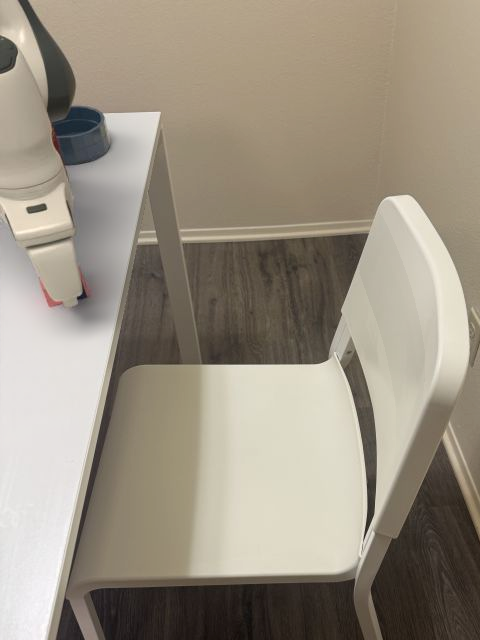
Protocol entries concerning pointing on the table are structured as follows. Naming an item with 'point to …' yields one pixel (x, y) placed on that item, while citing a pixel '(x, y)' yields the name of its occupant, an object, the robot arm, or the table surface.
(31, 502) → the table surface
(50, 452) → the table surface
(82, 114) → the bowl
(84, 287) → the eraser
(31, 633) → the table surface
